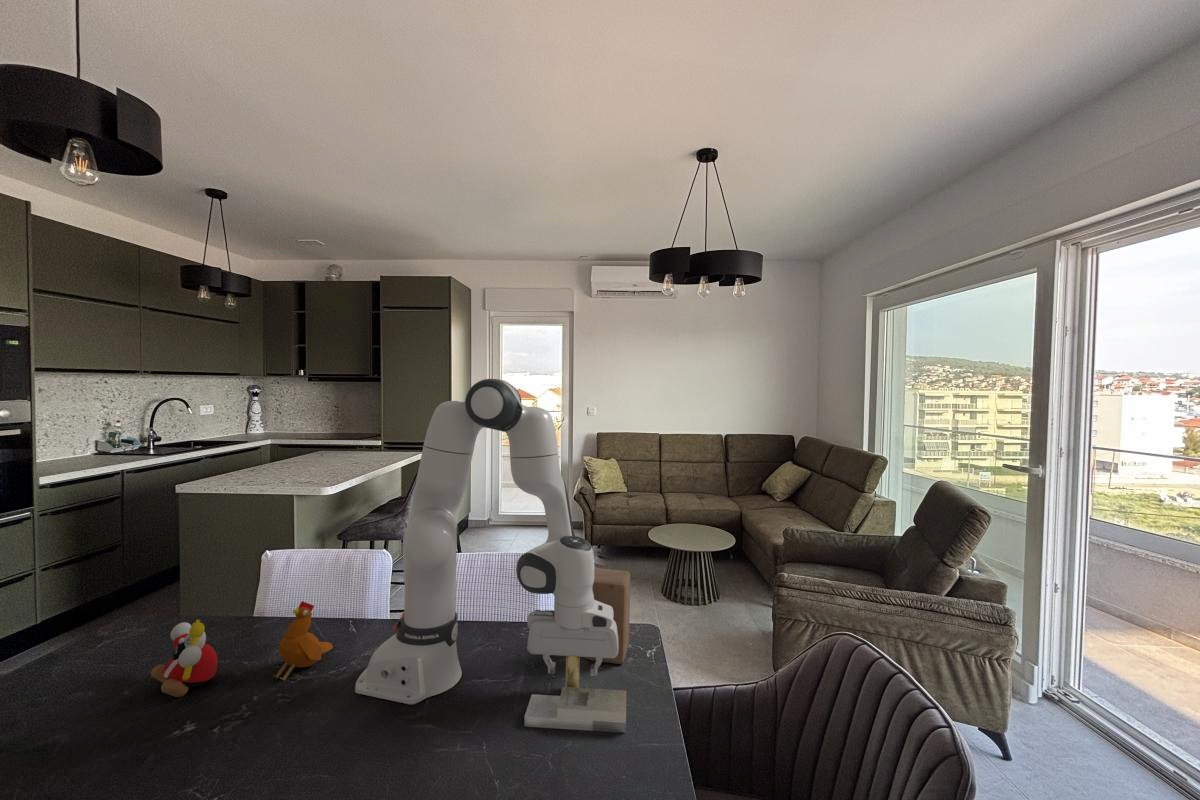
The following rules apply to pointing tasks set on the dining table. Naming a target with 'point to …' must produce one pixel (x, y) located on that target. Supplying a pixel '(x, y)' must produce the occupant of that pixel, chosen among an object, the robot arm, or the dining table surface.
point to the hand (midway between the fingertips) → (572, 673)
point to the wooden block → (615, 605)
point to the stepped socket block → (579, 710)
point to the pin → (572, 671)
